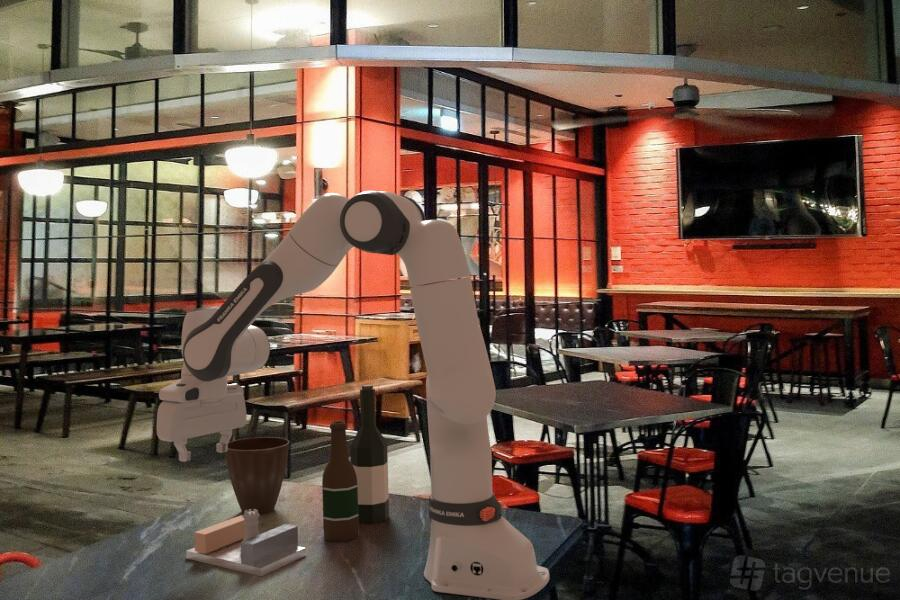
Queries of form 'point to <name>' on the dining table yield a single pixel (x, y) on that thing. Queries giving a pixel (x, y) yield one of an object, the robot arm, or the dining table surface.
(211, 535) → the block
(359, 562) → the dining table surface
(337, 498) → the beer bottle
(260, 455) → the plant pot
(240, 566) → the vise base
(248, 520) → the rook chess piece
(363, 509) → the wine bottle
